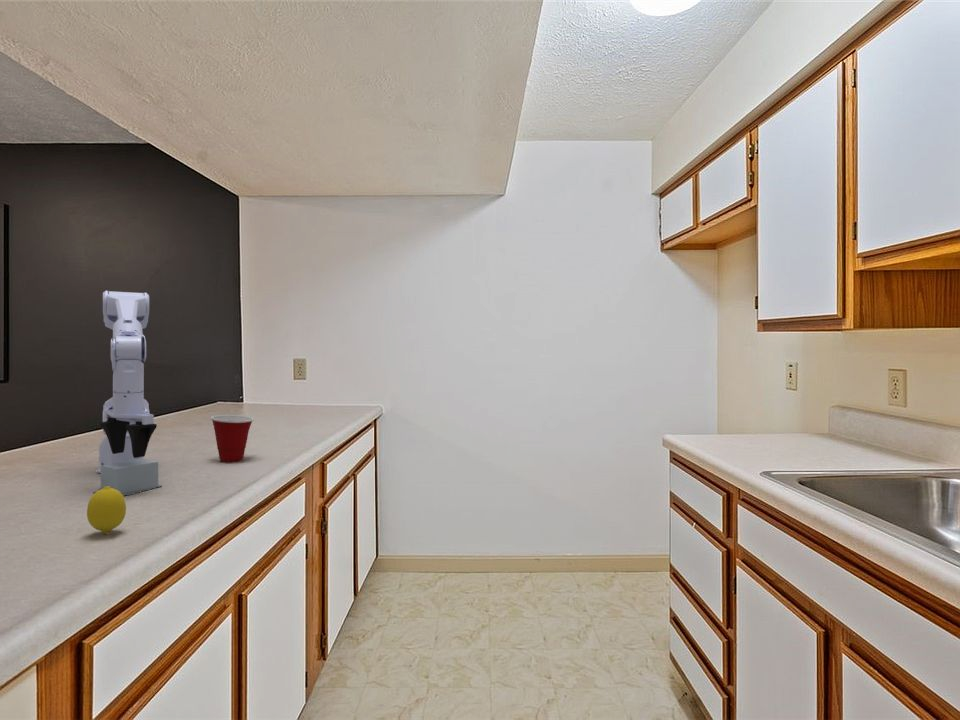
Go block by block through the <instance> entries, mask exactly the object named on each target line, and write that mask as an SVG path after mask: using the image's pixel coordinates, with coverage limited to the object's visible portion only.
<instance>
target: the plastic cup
mask: <svg viewBox="0 0 960 720" xmlns="http://www.w3.org/2000/svg"><path fill="white" fill-rule="evenodd" d="M210 419H211V421H212V425H213V430H214V434H215V443H216V447H217V451H218V457H219V461H220V462H221V463H238V462H242V461H243V460H244V457H245V451H246V448H247V442H248V438H249V431H250V428H251V427H252V426H251V425H252V422H253V421H254V419H255V418H254V417H252V416H249V415H240V414H217V415H212V416H210Z"/></svg>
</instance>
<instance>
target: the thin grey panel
mask: <svg viewBox="0 0 960 720" xmlns="http://www.w3.org/2000/svg"><path fill="white" fill-rule="evenodd" d="M160 486H161V485H159V484H158V486H156V487H159V488H161V487H160ZM156 487H151V488H147V489H142V490H137V491H133V492H128V493H123V494H122V495H123V497H126V496H125V495H127V496H130V495H129V494H131V495H134V494H133V493H135V494H138V493H137V492H139V493H141V492H140V491H143V492H146V491H145V490H147V491H150V490H149V489H151V490H153V489H152V488H155V489H157V488H156ZM97 491H98V490H96V491H93V492H94V493H93V494H95V493H96V492H97Z"/></svg>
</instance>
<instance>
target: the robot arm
mask: <svg viewBox="0 0 960 720" xmlns="http://www.w3.org/2000/svg"><path fill="white" fill-rule="evenodd" d="M102 315H103V323H104V326H105V327H106V328H107V329H108V328H109V329H110V330H112V338H111V339H110V360H111V368H112V372H113V374H112V397H110V398H109V399H107V400H106V401H105V402H104V404H103V409H102V421H100V427H101V428H102V434H103V435H105V436H104V437H103V438H102V439H101V441H100V443H99V447H98V450H99V451H98V461H99V462H98V465H99V466H98V467H99V468H98V469H96V470H95V473H100V474H101V466H102V465H108V464H114V463H120V462H126V461H132V460H138V459H144V458H145V456H146V453H147V449H148V447H149V446H148V445H149V443H150V440H151V437H152V435H153V434H154V432H155V430H156V429H157V427H158V426H157V425H158V424H157V423H154V422H155V418H154V417H155V416H154V414H152V413H150V408H149V406H150V405H149V402H148V400H147V399H145V395H144V393H145V392H144V390H145V389H144V388H145V387H144V385H145V383H144V381H145V380H144V379H145V378H144V376H145V372H144V371H145V370H144V368H145V364H144V363H145V362H146V359H147V341H146V337H145V335H144V333H143V329H146V328H147V326H148V325H147V324H149V316H150V295H149V294H148V293H147V292H132V291H131V292H129V291H125V292H124V291H111V290H105V291H103V292H102ZM142 361H143V362H144V363H143V362H142Z"/></svg>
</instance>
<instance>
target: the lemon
mask: <svg viewBox="0 0 960 720" xmlns="http://www.w3.org/2000/svg"><path fill="white" fill-rule="evenodd" d="M96 491H97V492H96ZM96 491H95V492H96V493H93V495H91V497H90V498H89V501H88V505H87V509H86V518H87V520H88V523H89V525H90V526H91V527H92V528H93V529H95V530H97V531H101V532H102V533H103V534H105V535H107V534H109V533H110V532H111V531H112V530H113V529H116V528H117V527H119V526H120V525H121V524H122V522H123V521H124V519H125V516H126V513H127V504H126V500H125V496H123V495H122V494H121V492H119V491H118V490H116V489H113V488H110V487H109V486H105V487H104V488H103V489H101V488H100V489H99V490H96Z"/></svg>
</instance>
